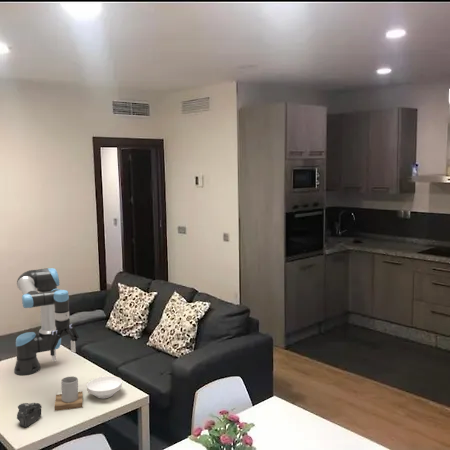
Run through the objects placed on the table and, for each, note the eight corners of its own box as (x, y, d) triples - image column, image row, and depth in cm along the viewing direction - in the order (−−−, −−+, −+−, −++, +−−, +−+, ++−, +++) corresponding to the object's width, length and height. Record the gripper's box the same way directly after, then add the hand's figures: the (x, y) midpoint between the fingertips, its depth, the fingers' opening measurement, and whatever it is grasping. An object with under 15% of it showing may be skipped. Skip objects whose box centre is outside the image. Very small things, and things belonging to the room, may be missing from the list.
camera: (23, 415, 249) (22, 396, 248) (43, 414, 249) (42, 396, 248) (13, 429, 236) (12, 409, 234) (34, 428, 236) (33, 409, 235)
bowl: (129, 390, 276) (128, 378, 275) (110, 405, 258) (109, 393, 257) (99, 385, 283) (99, 373, 282) (79, 400, 264) (78, 388, 263)
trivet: (56, 399, 266) (56, 394, 266) (82, 395, 270) (82, 391, 270) (54, 411, 253) (54, 406, 252) (82, 407, 256) (82, 402, 256)
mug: (78, 401, 258) (78, 381, 257) (62, 403, 255) (61, 383, 254) (76, 391, 269) (76, 372, 268) (60, 394, 266) (60, 374, 265)
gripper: (48, 327, 248) (50, 366, 251) (84, 313, 270) (85, 349, 272) (38, 324, 252) (40, 363, 254) (74, 311, 273) (76, 347, 276)
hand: (63, 356), depth 263 cm, fingers open, 13 cm apart
